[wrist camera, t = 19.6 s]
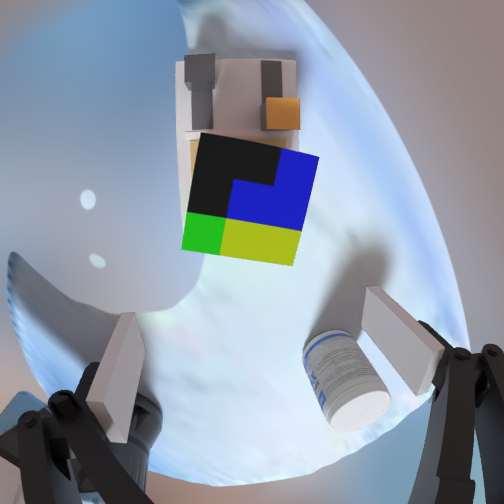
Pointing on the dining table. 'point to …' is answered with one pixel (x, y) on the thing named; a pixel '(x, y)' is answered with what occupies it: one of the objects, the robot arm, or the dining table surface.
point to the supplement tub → (344, 382)
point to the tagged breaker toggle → (280, 114)
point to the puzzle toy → (248, 199)
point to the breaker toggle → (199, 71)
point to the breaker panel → (230, 109)
